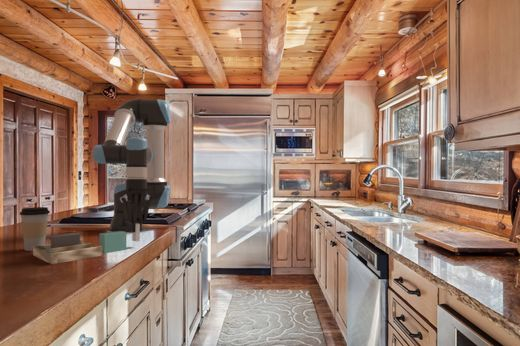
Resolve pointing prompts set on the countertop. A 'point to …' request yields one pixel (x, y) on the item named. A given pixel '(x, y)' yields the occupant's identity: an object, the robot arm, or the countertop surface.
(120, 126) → the robot arm
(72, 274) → the countertop surface
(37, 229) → the coffee cup
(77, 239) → the gray rectangular block
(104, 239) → the teal stub
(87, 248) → the slot rack
